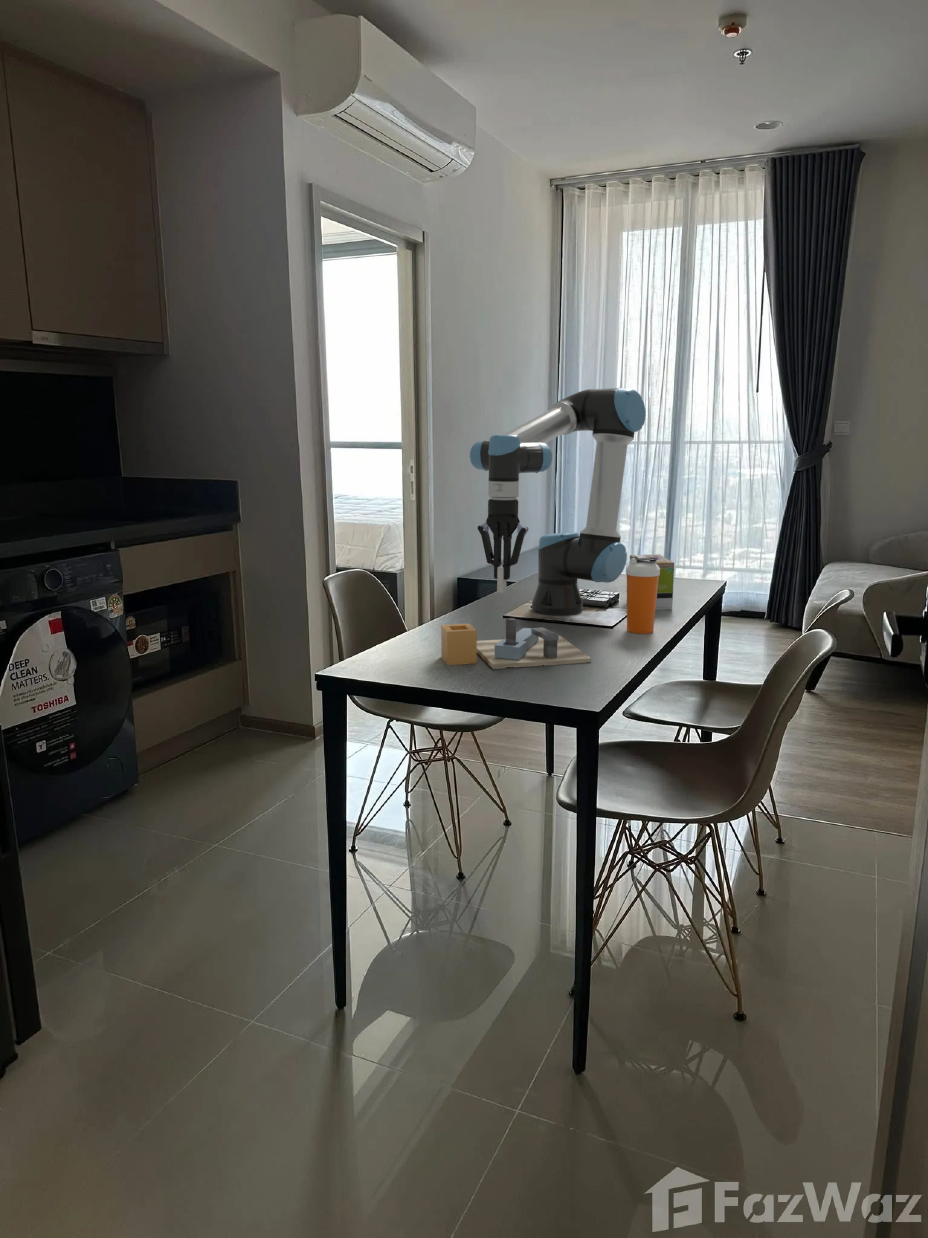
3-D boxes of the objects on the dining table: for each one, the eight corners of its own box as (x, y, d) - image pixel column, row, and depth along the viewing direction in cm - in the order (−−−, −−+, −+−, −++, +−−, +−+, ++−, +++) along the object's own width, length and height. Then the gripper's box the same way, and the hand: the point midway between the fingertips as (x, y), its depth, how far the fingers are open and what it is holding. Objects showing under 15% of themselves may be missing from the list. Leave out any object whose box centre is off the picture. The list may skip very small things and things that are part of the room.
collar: (441, 657, 211) (441, 625, 210) (469, 655, 213) (469, 623, 211) (447, 665, 205) (447, 631, 203) (476, 663, 206) (476, 630, 204)
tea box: (627, 600, 276) (629, 554, 273) (658, 599, 277) (660, 553, 273) (640, 610, 261) (642, 561, 258) (673, 610, 262) (675, 561, 259)
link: (518, 660, 205) (518, 647, 204) (494, 657, 207) (494, 645, 206) (542, 640, 222) (542, 629, 221) (519, 638, 224) (519, 627, 223)
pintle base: (470, 645, 222) (470, 606, 220) (559, 639, 228) (560, 602, 225) (492, 668, 202) (493, 626, 199) (590, 662, 207) (592, 621, 205)
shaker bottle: (657, 635, 232) (660, 560, 227) (622, 633, 234) (626, 559, 229) (656, 627, 240) (660, 555, 236) (623, 626, 242) (626, 554, 238)
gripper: (473, 498, 215) (472, 592, 221) (523, 500, 211) (521, 596, 216) (483, 496, 222) (482, 587, 227) (533, 498, 218) (530, 591, 223)
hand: (501, 591), depth 222 cm, fingers closed
